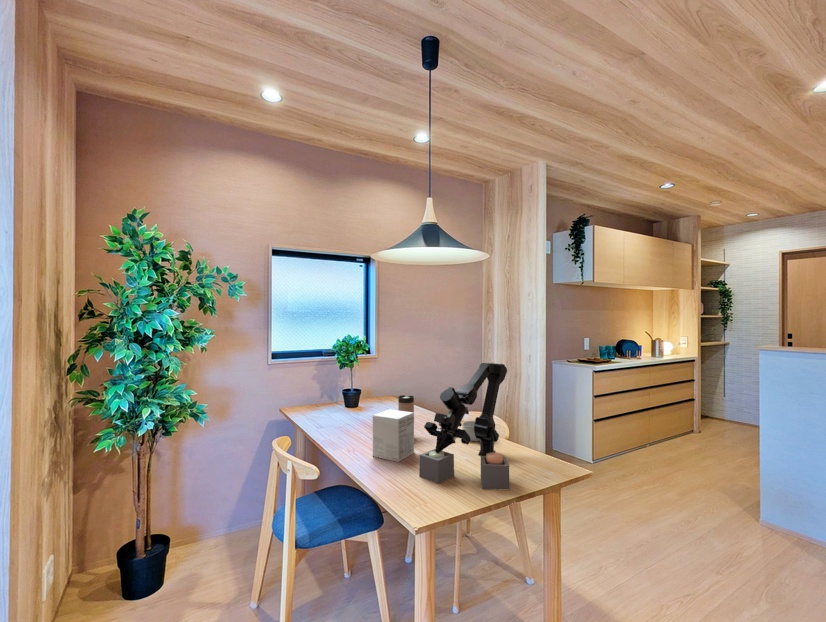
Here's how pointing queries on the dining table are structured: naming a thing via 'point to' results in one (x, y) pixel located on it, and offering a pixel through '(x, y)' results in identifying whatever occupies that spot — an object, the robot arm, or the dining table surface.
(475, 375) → the robot arm
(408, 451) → the supplement box
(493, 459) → the terracotta button
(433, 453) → the green button
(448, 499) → the dining table surface
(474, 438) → the teacup
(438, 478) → the grey button housing
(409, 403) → the travel mug
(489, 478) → the terracotta button housing
